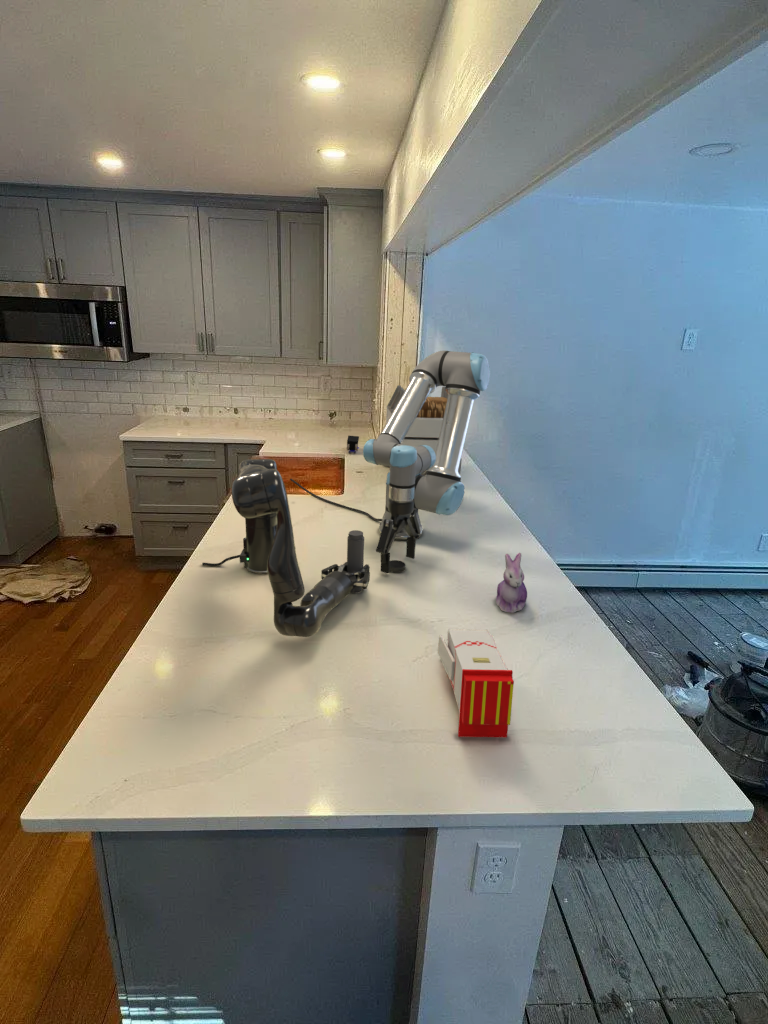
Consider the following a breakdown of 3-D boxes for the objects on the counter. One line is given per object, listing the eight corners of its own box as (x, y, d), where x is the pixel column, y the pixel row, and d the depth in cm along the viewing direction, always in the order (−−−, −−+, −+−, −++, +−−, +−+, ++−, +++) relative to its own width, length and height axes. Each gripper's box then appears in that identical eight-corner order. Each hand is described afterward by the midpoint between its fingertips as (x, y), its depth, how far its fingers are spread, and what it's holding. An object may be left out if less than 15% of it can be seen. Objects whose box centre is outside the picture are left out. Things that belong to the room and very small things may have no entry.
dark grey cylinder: (345, 586, 161) (346, 530, 155) (360, 585, 162) (362, 529, 156) (347, 593, 157) (349, 536, 151) (363, 592, 158) (365, 535, 152)
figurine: (509, 617, 148) (516, 565, 143) (485, 599, 156) (491, 550, 151) (537, 610, 152) (544, 559, 147) (512, 593, 161) (519, 544, 156)
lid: (405, 573, 171) (406, 568, 170) (386, 572, 170) (387, 567, 170) (404, 565, 176) (404, 560, 175) (386, 564, 176) (386, 559, 175)
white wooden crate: (382, 463, 289) (386, 382, 275) (445, 464, 293) (451, 384, 279) (390, 482, 257) (394, 392, 243) (460, 483, 261) (468, 394, 247)
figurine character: (358, 457, 304) (359, 447, 317) (358, 443, 301) (359, 434, 314) (345, 456, 304) (347, 447, 317) (346, 443, 300) (347, 434, 314)
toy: (488, 613, 130) (523, 677, 101) (484, 667, 133) (517, 744, 104) (435, 612, 130) (455, 676, 101) (432, 666, 133) (451, 743, 103)
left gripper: (356, 583, 141) (383, 558, 156) (306, 572, 146) (336, 548, 161) (355, 610, 144) (381, 582, 158) (306, 597, 149) (336, 572, 163)
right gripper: (413, 486, 178) (410, 548, 185) (365, 506, 159) (363, 574, 166) (434, 491, 174) (429, 554, 181) (386, 512, 155) (383, 582, 162)
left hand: (358, 565), depth 160 cm, fingers closed on dark grey cylinder, 4 cm apart
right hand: (397, 564), depth 174 cm, fingers open, 13 cm apart
